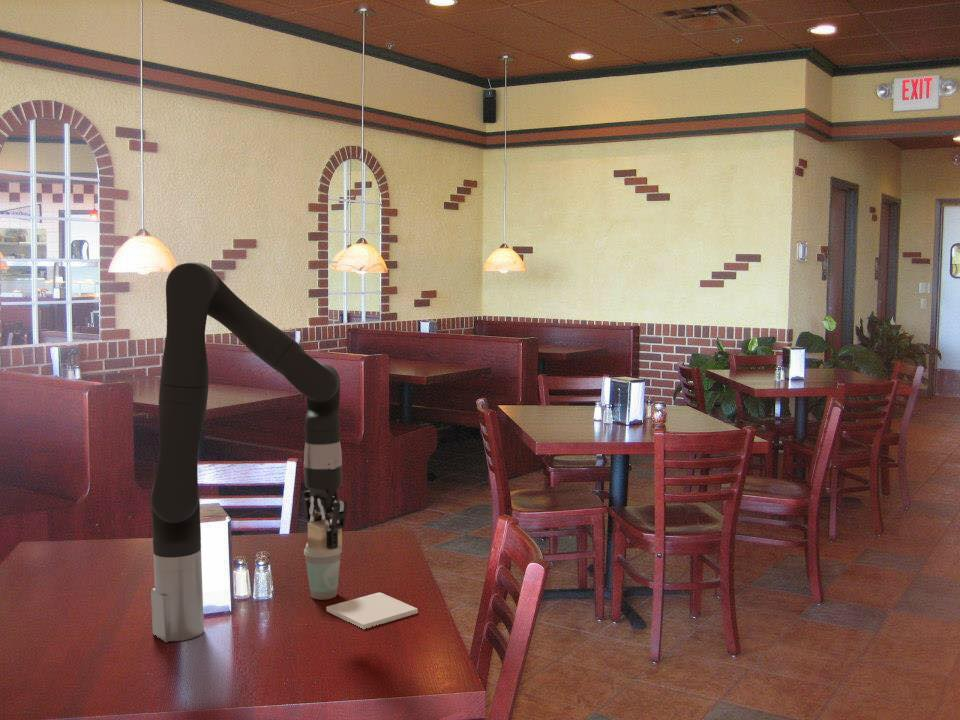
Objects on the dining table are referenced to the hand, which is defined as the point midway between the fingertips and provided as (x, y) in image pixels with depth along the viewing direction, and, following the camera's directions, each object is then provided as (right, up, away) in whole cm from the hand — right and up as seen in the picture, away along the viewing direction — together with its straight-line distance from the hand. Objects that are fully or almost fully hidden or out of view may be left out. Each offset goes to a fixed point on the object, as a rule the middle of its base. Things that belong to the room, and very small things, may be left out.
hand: (325, 544), depth 201 cm
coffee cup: (-4, -16, +21) cm, 27 cm away
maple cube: (0, 0, 0) cm, 0 cm away
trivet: (+8, -16, +10) cm, 21 cm away
